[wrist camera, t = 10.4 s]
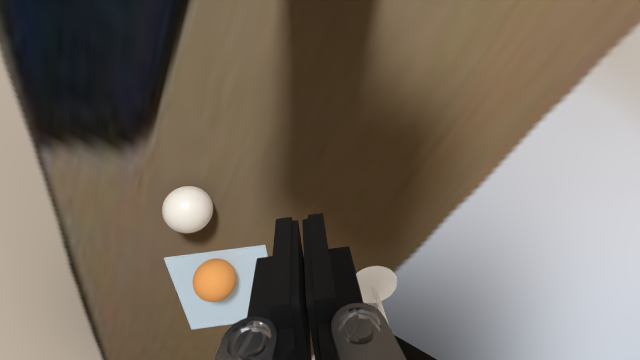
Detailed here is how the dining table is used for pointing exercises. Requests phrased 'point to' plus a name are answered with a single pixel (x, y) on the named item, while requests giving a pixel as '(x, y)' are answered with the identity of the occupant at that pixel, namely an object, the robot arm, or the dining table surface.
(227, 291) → the orange ball
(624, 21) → the dining table surface
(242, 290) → the blue mark
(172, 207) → the cue ball
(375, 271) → the wineglass
